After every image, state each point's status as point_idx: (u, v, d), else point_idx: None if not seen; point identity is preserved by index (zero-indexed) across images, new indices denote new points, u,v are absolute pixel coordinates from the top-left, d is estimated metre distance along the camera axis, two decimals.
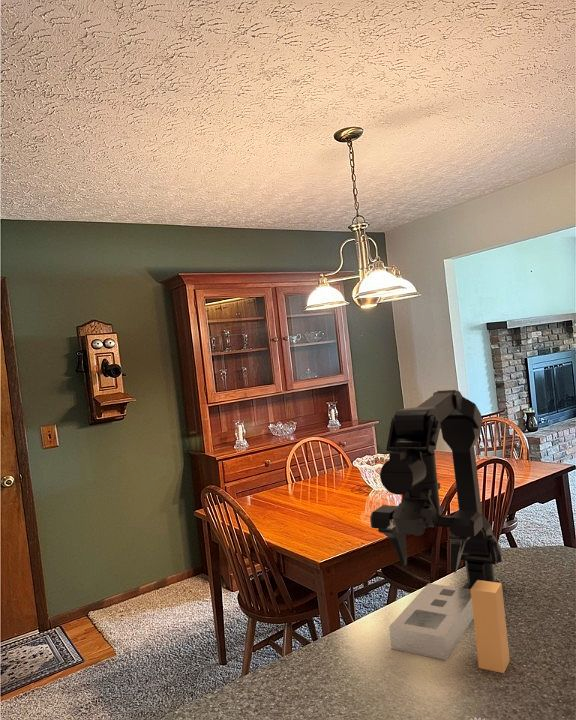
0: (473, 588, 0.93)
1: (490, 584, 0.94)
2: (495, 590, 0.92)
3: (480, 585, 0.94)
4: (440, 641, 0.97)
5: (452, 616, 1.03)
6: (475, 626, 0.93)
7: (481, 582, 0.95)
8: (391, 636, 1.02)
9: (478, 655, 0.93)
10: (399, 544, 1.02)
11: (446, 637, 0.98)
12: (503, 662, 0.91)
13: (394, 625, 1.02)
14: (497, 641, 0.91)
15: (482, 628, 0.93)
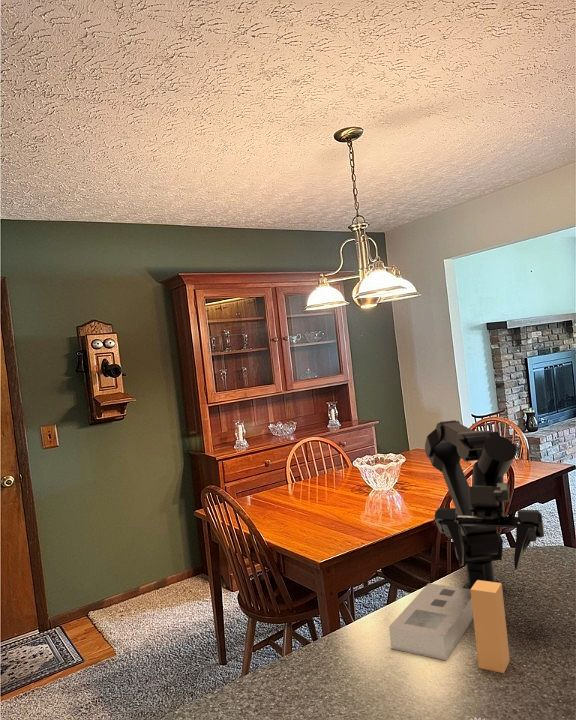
0: (473, 588, 0.93)
1: (490, 584, 0.94)
2: (495, 590, 0.92)
3: (480, 586, 0.94)
4: (440, 641, 0.97)
5: (452, 616, 1.03)
6: (475, 626, 0.93)
7: (481, 582, 0.95)
8: (391, 636, 1.02)
9: (478, 655, 0.93)
10: (460, 541, 1.05)
11: (446, 637, 0.98)
12: (503, 662, 0.91)
13: (394, 625, 1.02)
14: (497, 641, 0.91)
15: (482, 628, 0.93)
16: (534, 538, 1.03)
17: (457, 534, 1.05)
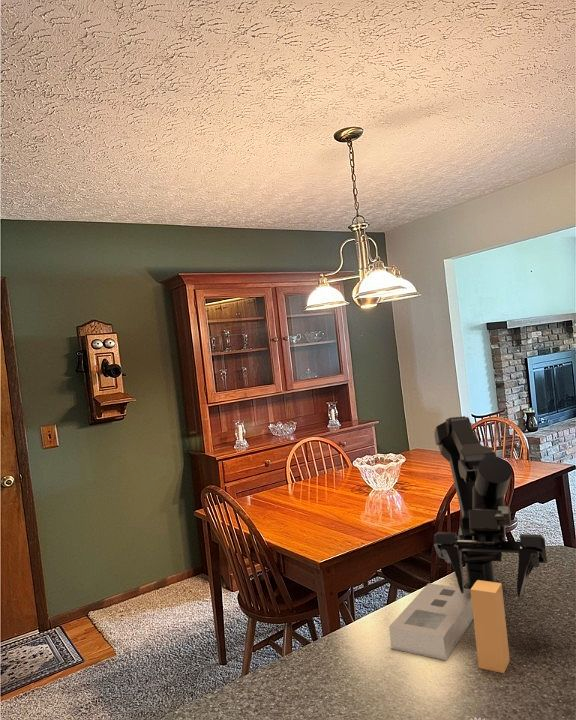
0: (473, 588, 0.93)
1: (490, 584, 0.94)
2: (495, 590, 0.92)
3: (480, 585, 0.94)
4: (440, 641, 0.97)
5: (452, 616, 1.03)
6: (475, 626, 0.93)
7: (481, 582, 0.95)
8: (391, 636, 1.02)
9: (478, 655, 0.93)
10: (460, 567, 1.01)
11: (446, 637, 0.98)
12: (503, 662, 0.91)
13: (394, 625, 1.02)
14: (497, 641, 0.91)
15: (482, 628, 0.93)
16: (537, 564, 0.99)
17: (457, 560, 1.01)
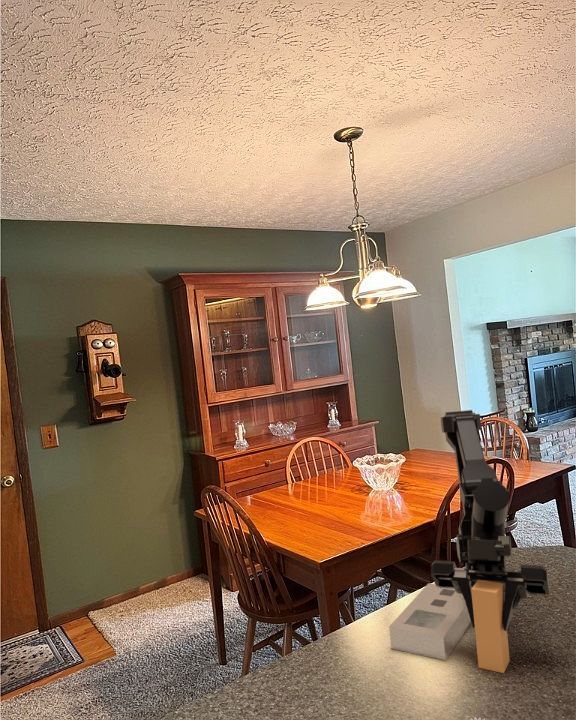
0: (474, 588, 0.93)
1: (491, 584, 0.94)
2: (496, 590, 0.92)
3: (481, 585, 0.94)
4: (440, 641, 0.97)
5: (452, 616, 1.03)
6: (475, 626, 0.93)
7: (482, 582, 0.95)
8: (391, 636, 1.02)
9: (478, 655, 0.93)
10: None
11: (446, 637, 0.98)
12: (503, 662, 0.91)
13: (394, 625, 1.02)
14: (497, 641, 0.91)
15: (482, 628, 0.93)
16: (524, 595, 0.95)
17: (469, 592, 0.96)
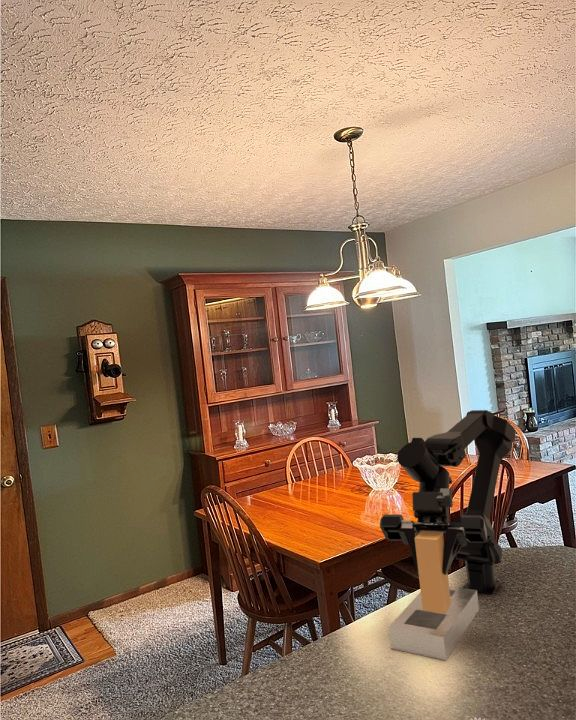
0: (417, 537, 1.01)
1: (432, 533, 1.02)
2: (437, 537, 0.99)
3: (423, 535, 1.02)
4: (440, 641, 0.97)
5: (452, 616, 1.03)
6: (419, 572, 1.01)
7: (424, 532, 1.03)
8: (391, 636, 1.02)
9: (422, 599, 1.01)
10: None
11: (446, 637, 0.98)
12: (444, 603, 0.99)
13: (394, 625, 1.02)
14: (439, 584, 0.99)
15: (425, 574, 1.00)
16: (464, 543, 1.03)
17: (414, 541, 1.04)
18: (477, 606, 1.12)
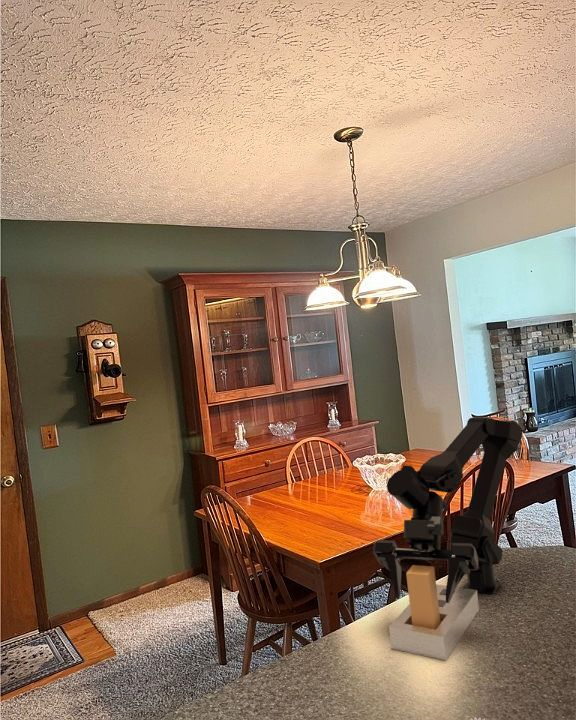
0: (408, 572, 1.03)
1: (424, 568, 1.04)
2: (428, 573, 1.01)
3: (415, 570, 1.04)
4: (440, 641, 0.97)
5: (452, 616, 1.03)
6: (411, 607, 1.02)
7: (416, 567, 1.05)
8: (391, 636, 1.02)
9: None
10: (397, 574, 1.06)
11: (446, 637, 0.98)
12: None
13: (394, 625, 1.02)
14: (430, 619, 1.01)
15: (417, 608, 1.02)
16: (467, 571, 1.04)
17: (394, 567, 1.06)
18: (477, 606, 1.12)
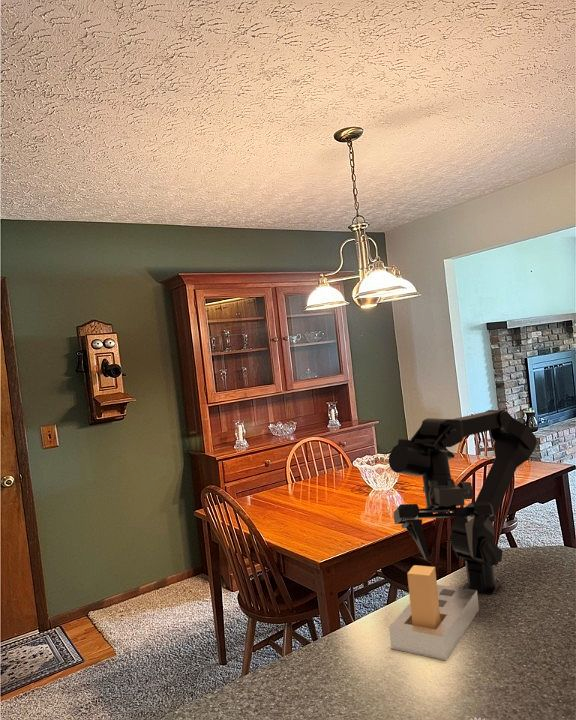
0: (409, 572, 1.03)
1: (425, 568, 1.04)
2: (429, 573, 1.01)
3: (416, 570, 1.03)
4: (440, 641, 0.97)
5: (452, 616, 1.03)
6: (411, 607, 1.02)
7: (417, 567, 1.05)
8: (391, 636, 1.02)
9: None
10: (423, 536, 1.10)
11: (446, 637, 0.98)
12: None
13: (394, 625, 1.02)
14: (430, 619, 1.01)
15: (417, 609, 1.02)
16: None
17: (421, 530, 1.10)
18: (477, 606, 1.12)
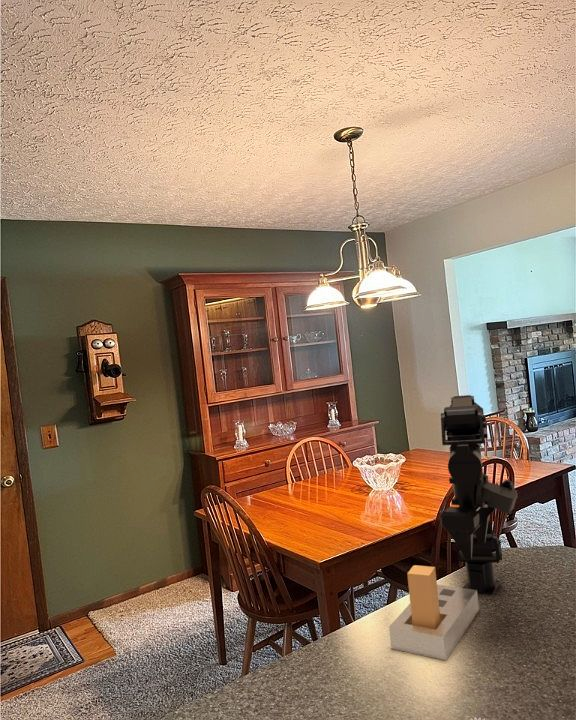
0: (409, 572, 1.03)
1: (425, 568, 1.04)
2: (429, 573, 1.01)
3: (416, 570, 1.03)
4: (440, 641, 0.97)
5: (452, 616, 1.03)
6: (411, 607, 1.02)
7: (417, 567, 1.05)
8: (391, 636, 1.02)
9: None
10: None
11: (446, 637, 0.98)
12: None
13: (394, 625, 1.02)
14: (430, 619, 1.01)
15: (417, 609, 1.02)
16: None
17: (472, 534, 1.04)
18: (477, 606, 1.12)
